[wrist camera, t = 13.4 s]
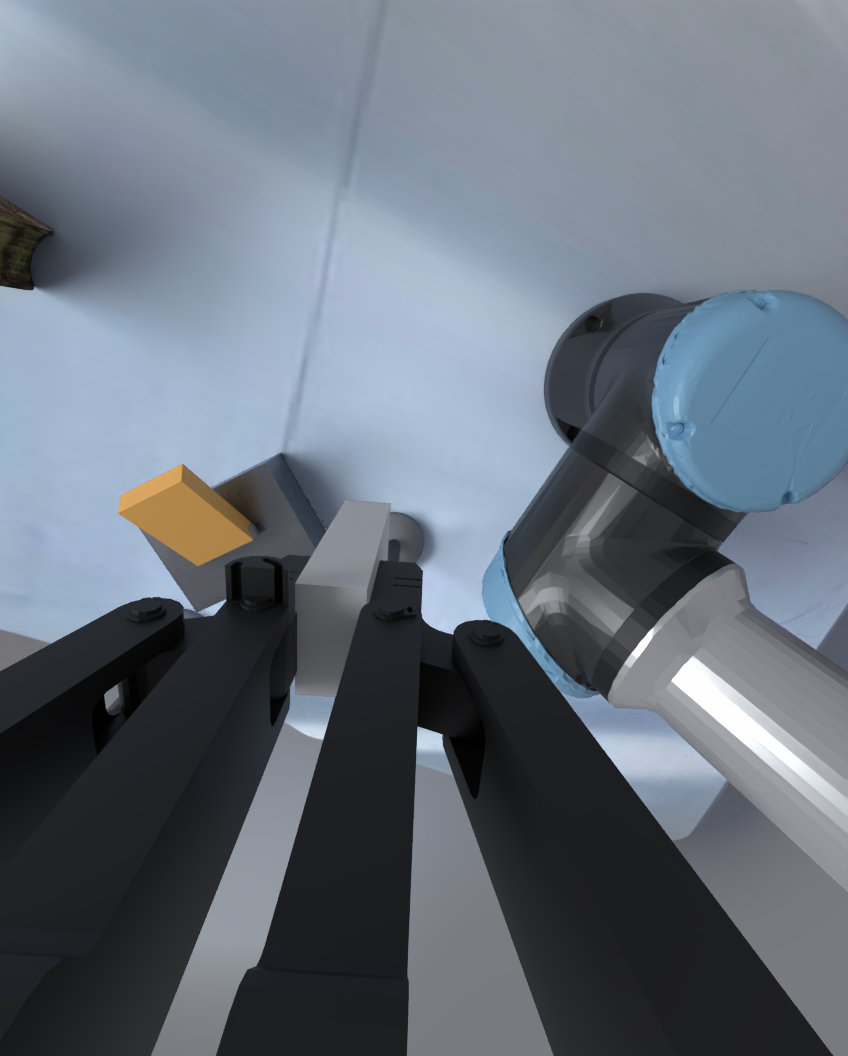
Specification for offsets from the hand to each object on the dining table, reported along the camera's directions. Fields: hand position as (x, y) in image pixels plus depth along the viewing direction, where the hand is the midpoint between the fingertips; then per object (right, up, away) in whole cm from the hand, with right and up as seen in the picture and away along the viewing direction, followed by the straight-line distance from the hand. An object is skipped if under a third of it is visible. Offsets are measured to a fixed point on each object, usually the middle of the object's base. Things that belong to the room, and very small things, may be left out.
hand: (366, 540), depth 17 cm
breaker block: (-16, +1, +36) cm, 40 cm away
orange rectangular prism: (-16, -1, +31) cm, 35 cm away
